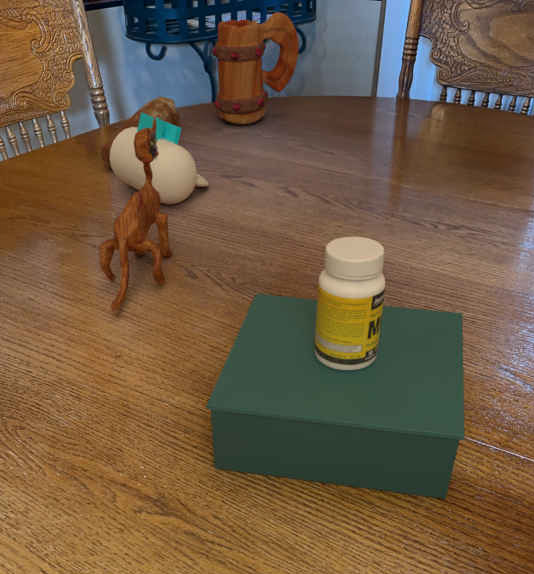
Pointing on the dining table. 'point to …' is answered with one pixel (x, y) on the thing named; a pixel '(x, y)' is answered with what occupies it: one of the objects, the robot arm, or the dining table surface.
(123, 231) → the brown animal figurine
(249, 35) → the mug
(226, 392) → the box
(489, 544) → the dining table surface
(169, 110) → the bread
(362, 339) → the supplement bottle
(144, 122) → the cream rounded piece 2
